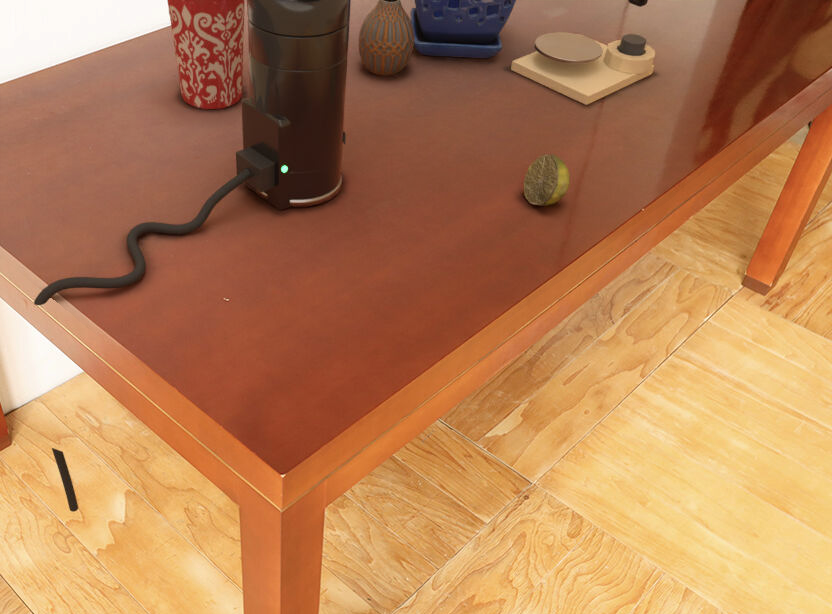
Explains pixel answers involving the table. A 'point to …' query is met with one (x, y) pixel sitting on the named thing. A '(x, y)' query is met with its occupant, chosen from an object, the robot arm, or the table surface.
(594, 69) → the scale
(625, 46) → the tare button
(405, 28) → the vase
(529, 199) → the lime
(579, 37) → the weighing plate
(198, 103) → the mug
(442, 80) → the table surface
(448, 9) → the flower pot
